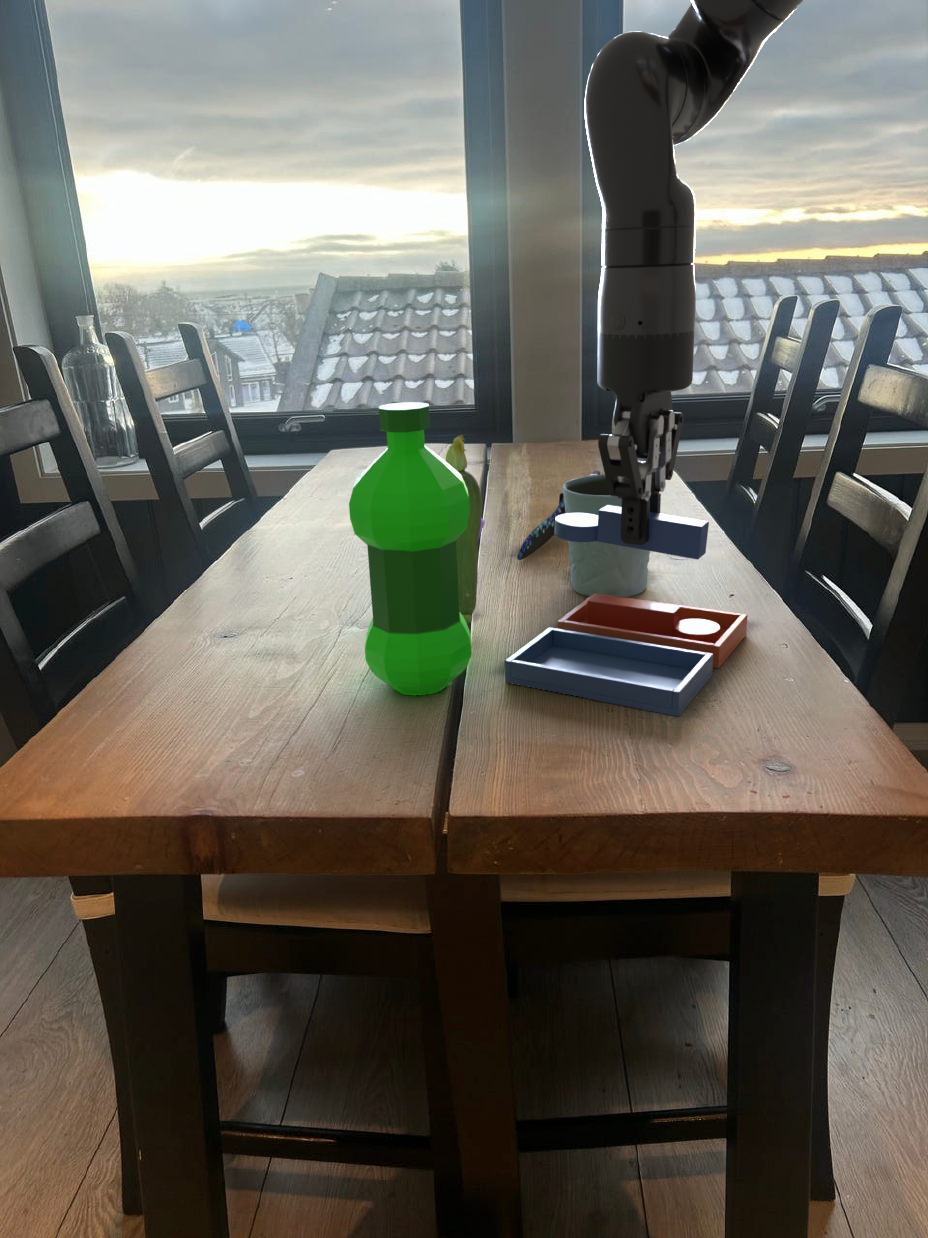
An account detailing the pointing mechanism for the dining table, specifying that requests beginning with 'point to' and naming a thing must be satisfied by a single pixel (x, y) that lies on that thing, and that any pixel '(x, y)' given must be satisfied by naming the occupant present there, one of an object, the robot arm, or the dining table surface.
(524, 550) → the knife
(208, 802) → the dining table surface
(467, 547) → the vegetable
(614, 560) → the green cup
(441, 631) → the plastic bottle
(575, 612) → the red tray
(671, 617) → the red bar with disc
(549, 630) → the blue tray
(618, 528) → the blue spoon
